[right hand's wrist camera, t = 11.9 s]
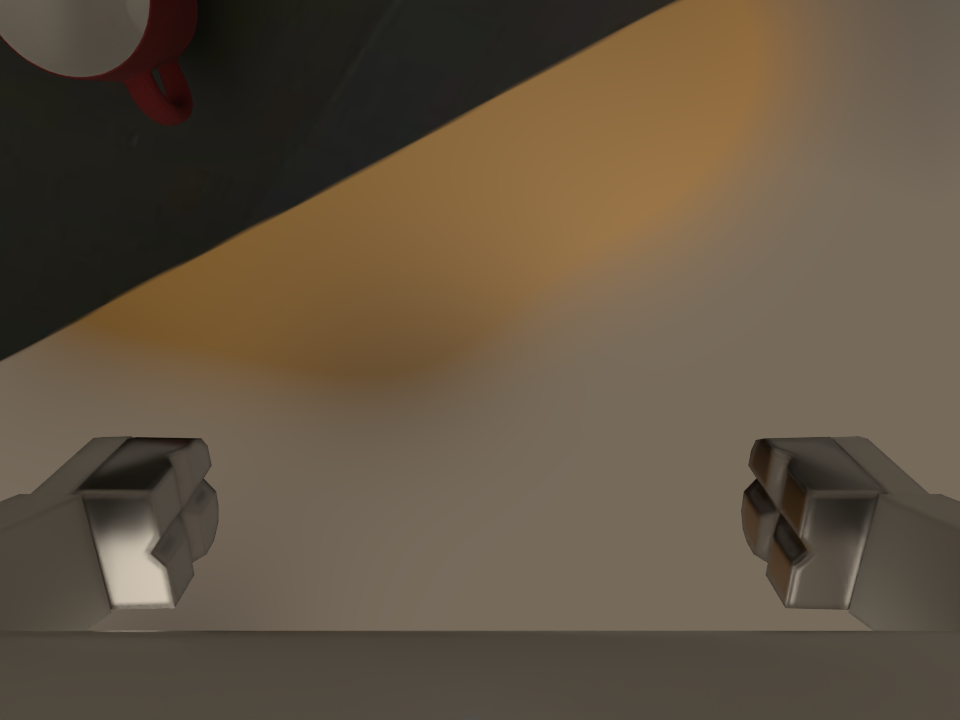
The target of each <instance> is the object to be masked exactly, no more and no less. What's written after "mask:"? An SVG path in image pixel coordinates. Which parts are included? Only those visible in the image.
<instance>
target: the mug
mask: <svg viewBox="0 0 960 720" xmlns="http://www.w3.org/2000/svg"><path fill="white" fill-rule="evenodd" d="M197 20H198V4H197V0H0V37H1V38H2V39H3V41H4V42H5V43H6V44H7V45H8V46H9V47H10V48H11V49H12V50H14V51H15V52H16V53H17V54H18V55H19V56H21V57H22V58H23V59H25V60H26V61H28V62H29V63H31V64H32V65H34V66H36V67H38V68H40V69H42V70H44V71H46V72H49V73H51V74H54V75H57V76H61V77H66V78H71V79H81V80H96V81H119V82H123V83H124V84H125V85H126V87H127V89H128V91H129V93H130V95H131V97H132V98H133V100H134V101H135V103H136V104H137V106H138V107H139V108H140V109H141V110H142V111H143V112H144V113H145V114H146V115H147V116H148V117H149V118H151V119H152V120H153V121H155V122H157V123H159V124H161V125H165V126H173V125H178V124H180V123H182V122H184V121H186V120H187V119H188V118H189V116H190V115H191V112H192V107H193V103H192V97H191V93H190V90H189V87H188V85H187V82H186V80H185V78H184V75H183V73H182V71H181V69H180V67H179V65H178V62H177V59H178V58H179V56H180V55H181V54H182V53H183V52H184V50H185V49H186V48H187V46H188V45H189V43H190V42H191V40H192V38H193V36H194V33H195V30H196V26H197ZM154 68H157V69H158V71H159V73H160V76H161V79H162V82H163V85H164V89H165V93H166V97H167V98H166V97H165V96H164V94H163V93H162V92H161V90H160V89H159V87H158V85H157V83H156V81H155V79H154V77H153V75H152V70H153V69H154Z"/></svg>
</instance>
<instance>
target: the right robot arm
mask: <svg viewBox="0 0 960 720" xmlns="http://www.w3.org/2000/svg"><path fill="white" fill-rule="evenodd" d="M210 467H211V460H210V456H209V451H208V446H207V445H206V443H205V442H204V441H203V440H202V439H201V438H148V437H135V438H133V437H131V436H129V437H101V438H93V439H92V440H91V441H90V442H89V443H87V444H86V445H85V446H84V447H83V448H82V449H81V450H80V451H78V452H77V453H76V454H75V455H74V456H73V457H72V458H71V459H69V460H68V461H67V462H66V463H65V464H64V465H63V466H62V467H60V468H59V469H58V470H57V471H56V472H55V473H54V474H53V475H52V476H50V477H49V478H48V479H47V480H46V481H45V482H44V483H42V484H41V485H40V486H39V487H38V488H37V489H36V490H35V491H33V492H32V493H31V494H19V495H16V496H14V497H11V498H9V499H6V500H3V501H1V502H0V720H960V502H959V501H957V500H954V499H952V498H949V497H946V496H944V495H941V494H929V493H928V492H927V491H925V490H924V489H923V488H922V487H921V486H920V485H919V484H918V483H916V482H915V481H914V480H913V479H912V478H911V477H910V476H909V475H908V474H906V473H905V472H904V471H903V470H902V469H901V468H900V467H899V466H897V465H896V464H895V463H894V462H893V461H892V460H891V459H890V458H889V457H887V456H886V455H885V454H884V453H883V452H882V451H881V450H879V449H878V448H877V447H876V446H875V445H874V444H873V443H872V442H871V441H869V440H868V439H866V438H863V437H859V436H855V437H832V438H831V437H809V438H767V439H760V440H756V441H755V443H754V445H753V448H752V450H751V454H750V460H749V467H750V469H751V470H752V472H753V473H754V475H755V477H756V478H757V479H756V480H755V481H754V482H753V483H752V484H751V485H750V486H749V487H748V488H747V489H746V490H745V491H744V495H743V502H742V510H741V513H742V524H743V531H744V534H745V537H746V541H747V543H748V545H749V547H750V549H751V550H752V552H753V554H754V555H756V556H758V557H759V558H761V559H763V560H764V561H766V562H767V563H768V566H767V571H766V576H767V578H768V579H769V581H770V583H771V584H772V586H773V588H774V589H775V591H776V593H777V594H778V596H779V598H780V600H781V601H782V603H783V605H784V606H785V608H803V609H840V610H849V613H850V614H851V615H853V616H854V617H855V618H857V619H858V620H860V621H861V622H862V623H864V624H865V625H866V626H868V627H869V628H870V629H872V630H873V631H87V630H88V629H90V628H91V627H93V626H94V625H95V624H97V623H98V622H99V621H101V620H102V619H103V618H105V617H106V616H107V615H109V614H110V613H111V610H120V609H156V608H175V606H176V605H177V603H178V601H179V600H180V598H181V596H182V595H183V593H184V591H185V590H186V588H187V586H188V584H189V583H190V581H191V579H192V578H193V576H194V571H193V566H192V563H193V562H194V561H196V560H198V559H199V558H201V557H202V556H204V555H206V554H207V552H208V550H209V548H210V547H211V545H212V543H213V541H214V538H215V534H216V529H217V525H218V501H217V494H216V491H215V490H214V489H213V488H212V487H211V486H210V485H209V484H208V483H207V482H206V481H205V480H204V479H203V478H204V477H205V475H206V473H207V472H208V470H209V469H210Z"/></svg>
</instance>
